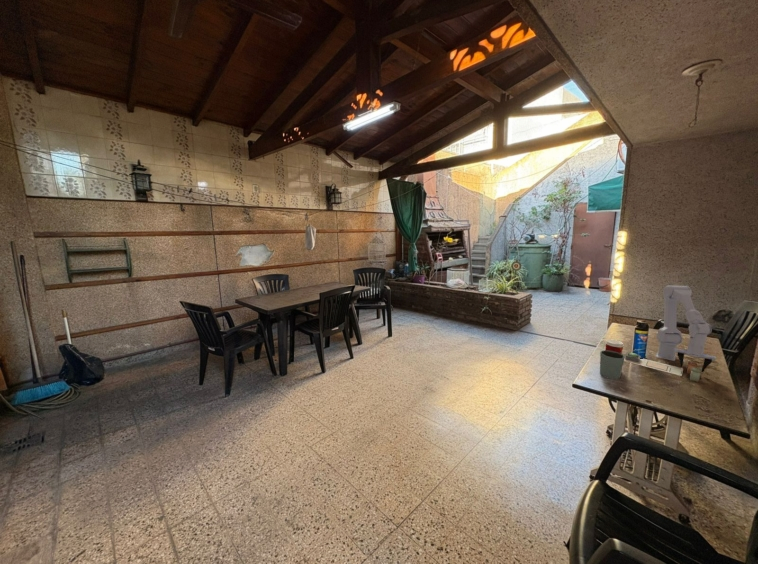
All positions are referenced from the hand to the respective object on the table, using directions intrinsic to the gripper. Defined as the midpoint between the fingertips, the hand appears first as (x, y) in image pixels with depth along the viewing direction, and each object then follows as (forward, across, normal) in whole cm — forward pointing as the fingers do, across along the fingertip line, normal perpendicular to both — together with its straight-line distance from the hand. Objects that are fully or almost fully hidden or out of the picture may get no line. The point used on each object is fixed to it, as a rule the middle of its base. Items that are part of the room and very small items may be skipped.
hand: (691, 369), depth 154 cm
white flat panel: (+2, -15, -4) cm, 16 cm away
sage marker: (+2, +2, -9) cm, 9 cm away
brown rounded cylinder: (+2, 0, 0) cm, 2 cm away
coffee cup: (+2, -30, -22) cm, 38 cm away
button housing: (+2, -24, -4) cm, 24 cm away
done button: (0, -24, -4) cm, 24 cm away
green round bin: (+3, -28, -34) cm, 45 cm away
